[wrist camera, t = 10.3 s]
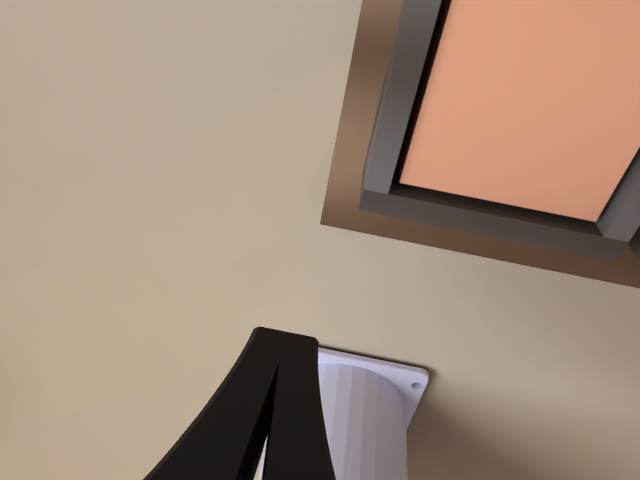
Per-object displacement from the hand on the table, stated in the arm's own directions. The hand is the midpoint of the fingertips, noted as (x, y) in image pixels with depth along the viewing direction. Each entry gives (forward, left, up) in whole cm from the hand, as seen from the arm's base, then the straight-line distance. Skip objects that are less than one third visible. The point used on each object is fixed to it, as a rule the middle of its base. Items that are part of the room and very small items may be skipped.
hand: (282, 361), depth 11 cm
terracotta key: (+5, -6, -9) cm, 11 cm away
